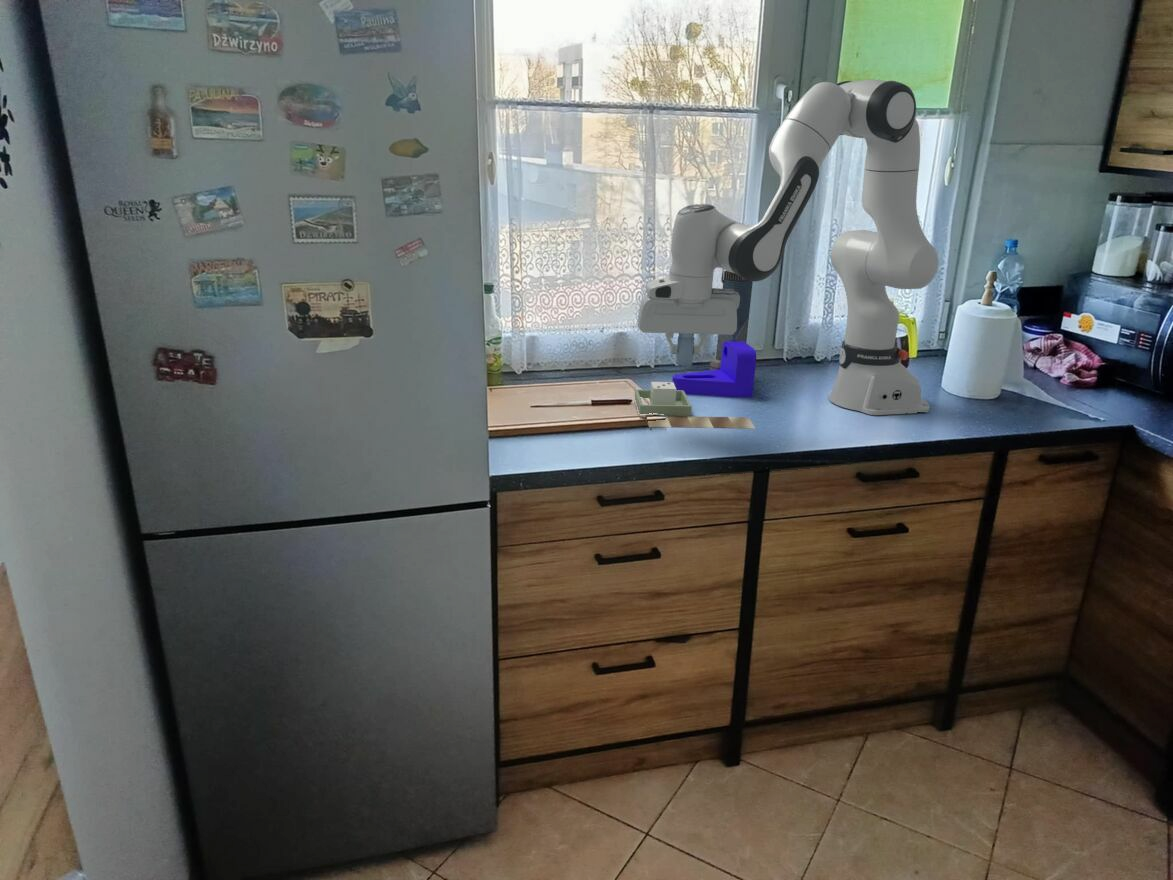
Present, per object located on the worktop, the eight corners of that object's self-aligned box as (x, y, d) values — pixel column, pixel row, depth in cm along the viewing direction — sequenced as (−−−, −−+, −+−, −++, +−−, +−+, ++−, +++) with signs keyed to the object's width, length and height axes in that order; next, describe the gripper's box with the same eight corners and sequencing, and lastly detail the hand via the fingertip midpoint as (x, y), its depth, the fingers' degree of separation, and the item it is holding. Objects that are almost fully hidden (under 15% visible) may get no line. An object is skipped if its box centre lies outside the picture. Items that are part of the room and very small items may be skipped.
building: (709, 384, 215) (720, 261, 205) (706, 373, 224) (717, 255, 213) (751, 386, 215) (764, 263, 204) (746, 375, 224) (759, 257, 213)
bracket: (736, 385, 216) (741, 339, 211) (751, 399, 206) (757, 351, 201) (665, 387, 212) (669, 339, 208) (677, 401, 202) (681, 352, 198)
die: (671, 403, 199) (673, 381, 197) (674, 410, 194) (676, 388, 192) (649, 402, 198) (651, 380, 197) (652, 410, 194) (653, 387, 192)
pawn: (690, 361, 184) (693, 324, 182) (693, 366, 181) (696, 328, 178) (674, 361, 184) (677, 323, 181) (677, 365, 181) (680, 327, 178)
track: (748, 419, 192) (748, 417, 192) (755, 431, 185) (755, 428, 185) (645, 418, 190) (646, 415, 190) (649, 429, 184) (650, 426, 184)
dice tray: (682, 402, 202) (683, 390, 201) (690, 418, 191) (691, 406, 190) (634, 401, 201) (634, 389, 200) (639, 417, 191) (640, 405, 190)
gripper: (737, 286, 181) (731, 351, 186) (638, 283, 179) (634, 348, 184) (744, 292, 175) (737, 359, 180) (642, 289, 173) (638, 356, 178)
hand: (684, 353), depth 182 cm, fingers closed on pawn, 3 cm apart
